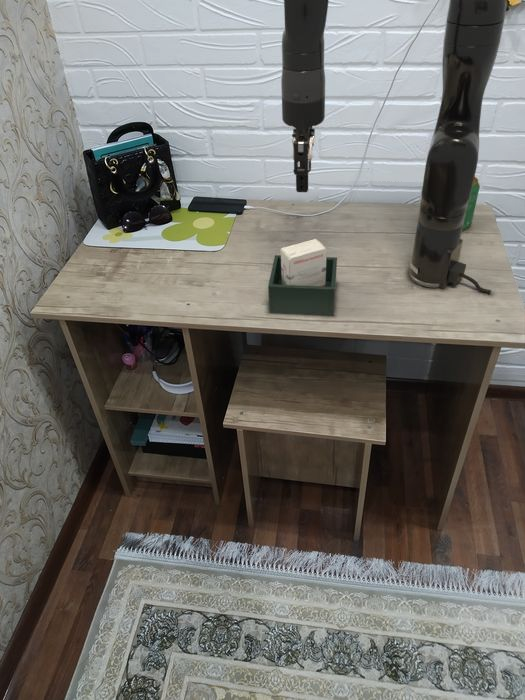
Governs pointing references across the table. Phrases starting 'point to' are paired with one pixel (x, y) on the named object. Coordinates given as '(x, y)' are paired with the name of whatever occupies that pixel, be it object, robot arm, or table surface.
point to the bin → (302, 293)
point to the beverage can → (471, 204)
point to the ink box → (304, 264)
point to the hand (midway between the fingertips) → (303, 181)
